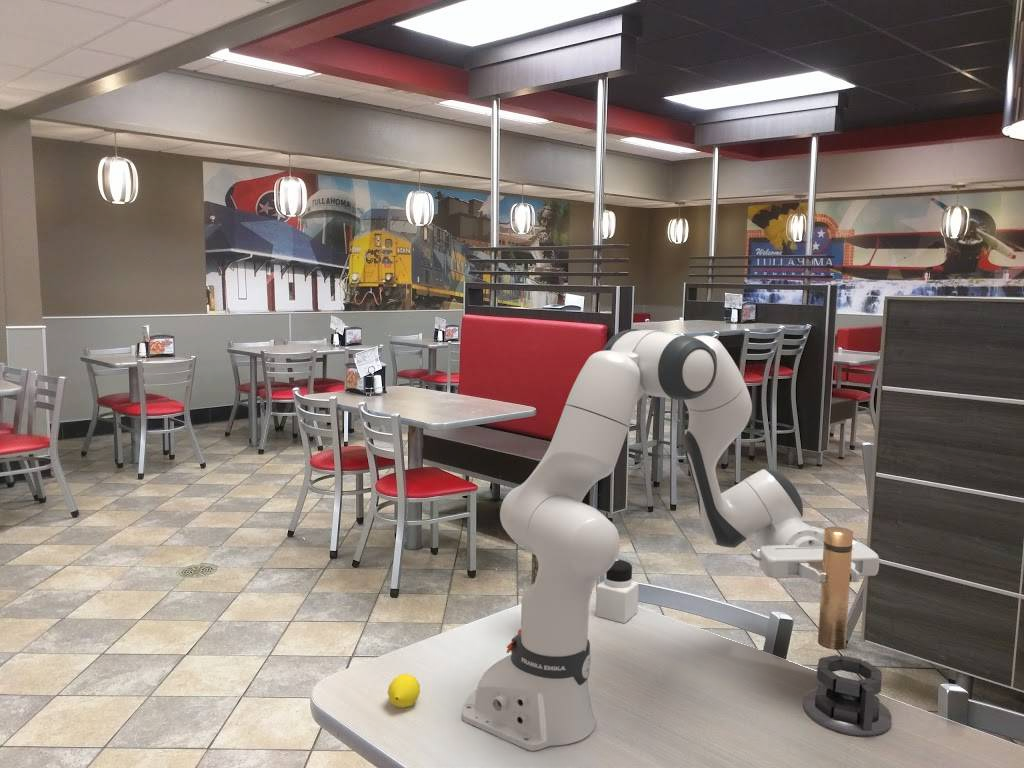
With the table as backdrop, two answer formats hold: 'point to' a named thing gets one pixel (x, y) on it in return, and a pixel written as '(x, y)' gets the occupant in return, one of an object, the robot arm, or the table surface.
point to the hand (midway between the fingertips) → (838, 578)
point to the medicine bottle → (617, 593)
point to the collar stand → (848, 698)
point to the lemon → (404, 690)
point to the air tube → (835, 587)
